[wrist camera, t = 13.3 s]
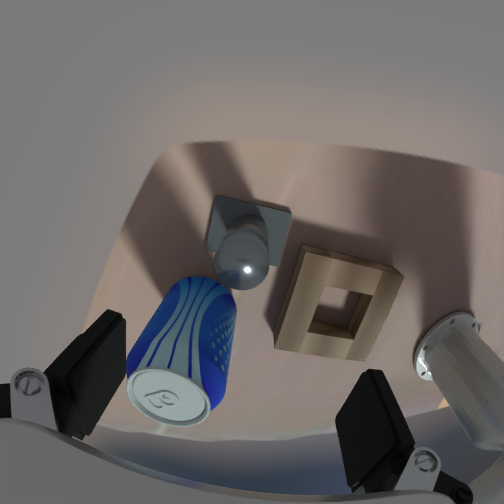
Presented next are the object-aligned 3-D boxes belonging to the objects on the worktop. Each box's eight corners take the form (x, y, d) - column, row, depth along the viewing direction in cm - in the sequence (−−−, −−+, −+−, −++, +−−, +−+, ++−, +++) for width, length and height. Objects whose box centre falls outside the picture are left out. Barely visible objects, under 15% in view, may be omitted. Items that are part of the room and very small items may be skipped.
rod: (271, 218, 30) (275, 244, 20) (262, 254, 31) (261, 295, 21) (234, 210, 30) (219, 232, 20) (226, 246, 31) (209, 283, 21)
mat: (291, 212, 30) (291, 213, 30) (277, 264, 32) (277, 266, 31) (217, 195, 30) (216, 195, 29) (206, 248, 32) (205, 249, 31)
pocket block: (393, 267, 32) (404, 276, 29) (358, 348, 35) (364, 361, 32) (301, 243, 31) (305, 251, 28) (273, 334, 35) (274, 348, 32)
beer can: (172, 264, 32) (110, 344, 17) (243, 279, 33) (230, 374, 17) (166, 325, 35) (120, 416, 20) (231, 339, 35) (215, 441, 20)
